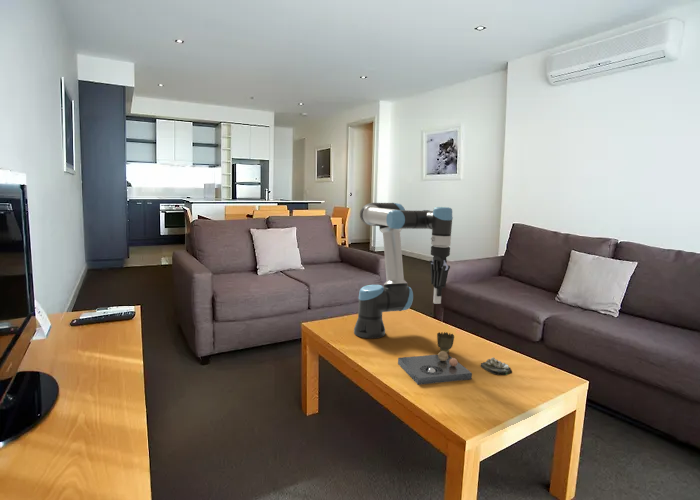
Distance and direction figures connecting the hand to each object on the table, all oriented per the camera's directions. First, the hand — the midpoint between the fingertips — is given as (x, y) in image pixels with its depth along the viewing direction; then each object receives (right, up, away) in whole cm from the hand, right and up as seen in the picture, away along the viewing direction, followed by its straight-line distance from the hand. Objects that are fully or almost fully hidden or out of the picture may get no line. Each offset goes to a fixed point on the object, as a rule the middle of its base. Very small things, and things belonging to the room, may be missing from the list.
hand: (436, 303), depth 172 cm
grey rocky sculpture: (+23, -27, -3) cm, 35 cm away
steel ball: (-5, -25, -12) cm, 28 cm away
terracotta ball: (+5, -22, -8) cm, 24 cm away
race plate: (-3, -26, -7) cm, 27 cm away
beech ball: (+2, -21, -4) cm, 21 cm away
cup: (+6, -23, +13) cm, 27 cm away
